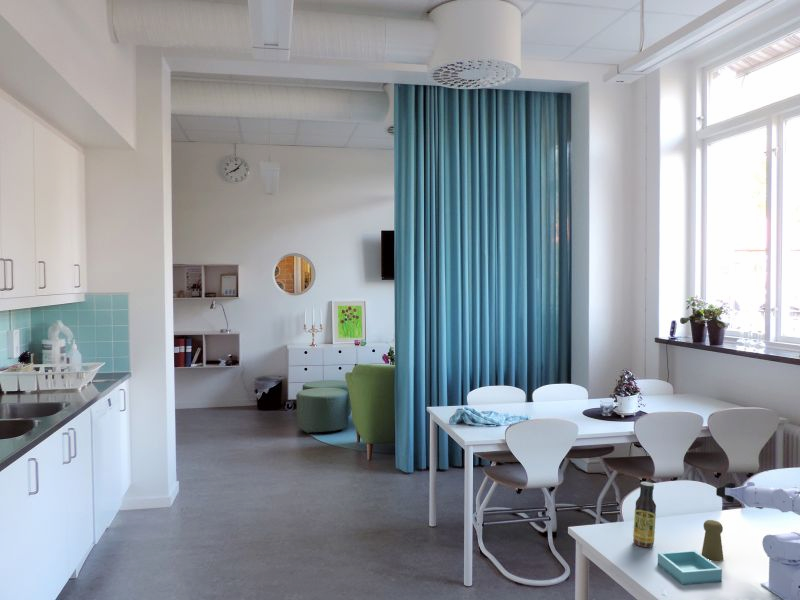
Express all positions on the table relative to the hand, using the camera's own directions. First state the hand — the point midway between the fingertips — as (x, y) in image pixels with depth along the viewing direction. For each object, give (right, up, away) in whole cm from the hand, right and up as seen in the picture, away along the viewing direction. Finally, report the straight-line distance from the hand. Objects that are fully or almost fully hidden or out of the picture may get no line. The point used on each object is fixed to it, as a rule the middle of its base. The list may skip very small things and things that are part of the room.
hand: (728, 494), depth 182 cm
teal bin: (-17, -20, -10) cm, 28 cm away
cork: (-5, -20, 0) cm, 20 cm away
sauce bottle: (-22, -19, +9) cm, 31 cm away
